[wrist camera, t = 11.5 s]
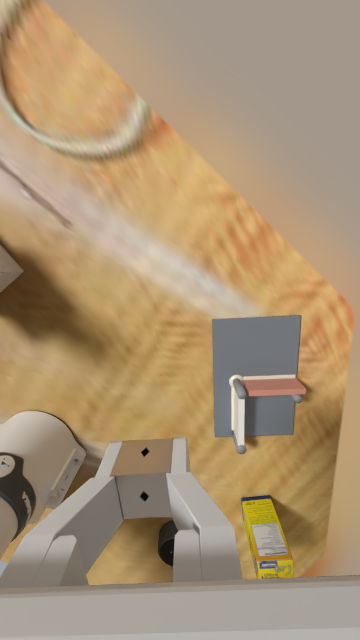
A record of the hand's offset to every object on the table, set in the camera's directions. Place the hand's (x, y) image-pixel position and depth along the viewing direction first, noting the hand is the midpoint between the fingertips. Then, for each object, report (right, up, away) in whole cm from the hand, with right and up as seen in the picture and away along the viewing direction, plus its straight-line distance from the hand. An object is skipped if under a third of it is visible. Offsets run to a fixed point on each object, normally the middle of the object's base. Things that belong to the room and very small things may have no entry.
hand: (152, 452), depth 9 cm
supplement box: (+17, -34, +41) cm, 55 cm away
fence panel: (+17, -6, +32) cm, 37 cm away
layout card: (+14, -5, +33) cm, 37 cm away
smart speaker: (+1, -41, +43) cm, 59 cm away
